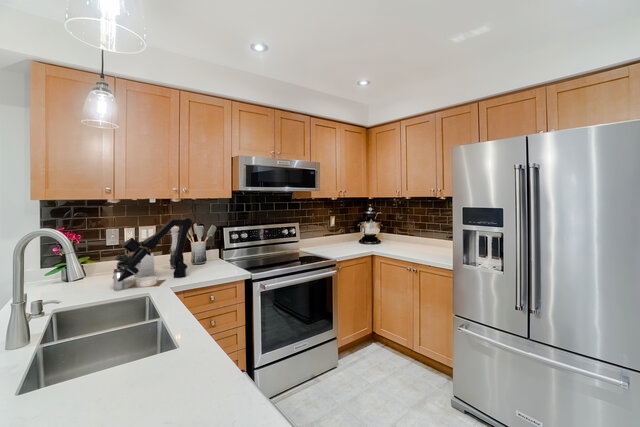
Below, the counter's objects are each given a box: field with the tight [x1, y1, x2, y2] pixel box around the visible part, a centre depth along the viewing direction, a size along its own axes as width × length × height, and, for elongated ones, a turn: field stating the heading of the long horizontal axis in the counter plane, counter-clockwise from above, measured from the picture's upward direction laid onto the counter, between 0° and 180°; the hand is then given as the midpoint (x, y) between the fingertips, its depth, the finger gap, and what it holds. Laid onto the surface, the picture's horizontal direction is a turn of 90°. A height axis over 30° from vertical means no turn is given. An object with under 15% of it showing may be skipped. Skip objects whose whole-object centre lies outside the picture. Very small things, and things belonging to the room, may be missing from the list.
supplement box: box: [134, 252, 155, 278], centre depth 197 cm, size 9×9×15 cm
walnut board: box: [126, 279, 167, 289], centre depth 174 cm, size 17×15×1 cm
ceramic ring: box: [134, 276, 159, 288], centre depth 174 cm, size 11×11×3 cm
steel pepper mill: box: [112, 268, 125, 292], centre depth 163 cm, size 5×5×12 cm
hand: (115, 280), depth 162 cm, fingers open, 9 cm apart
